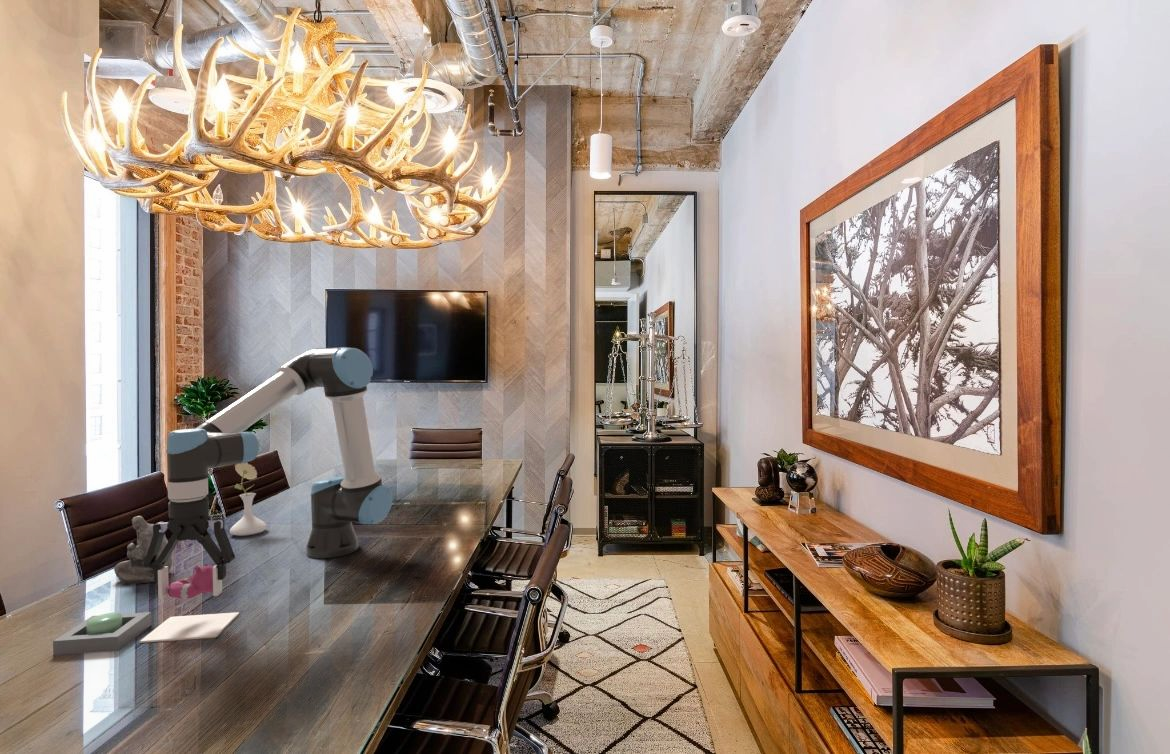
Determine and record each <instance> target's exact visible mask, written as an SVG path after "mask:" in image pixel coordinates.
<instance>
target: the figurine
mask: <svg viewBox="0 0 1170 754" xmlns="http://www.w3.org/2000/svg"><path fill="white" fill-rule="evenodd" d="M131 524H132V528H133V529H134V530H135V531H136V537H137V538H136V544H135V543H133V542H131V543H129V544H128V545H127V547H126V548H127V552H126V555H127V556H126V557H127V558H128V559H129V560H124V561H120V562H118V563H117V564H115V566H114V568H113V570H114V574H115V575H116V577H117V578H118V580H119V581H120V582H121V584H122V585H123V586H124V585H125V586H126V585H127V586H128V585H140V584H147V583H153V582H154V570H153V569H152V568H149V567H147V568H145V567H144V566H143V564H144V561H145V558H146V555H147V552H148V549H149V546H150V543H151V540H152V537H153V525H155V524H156V523H155V524H154V523H148V522H147V521H146V520H145V519H144V517H143V516H142V515H137V516H134V517H133V518H132V519H131ZM168 540H169V539H167V537H166V533H165V534H164V537H163V540H162V543H161V546H160V549H159V552H158V556H157V559H158V557H159V556H160V554H161V552H162V551H163V549H164V548H165V546H166V545H167V543H168ZM172 554H173V553H171V555H170V556H169V558H168V559H167V561H166V562H165V565H164V566H168V573H169V572H170V571H171V569H172V566H173V559H172ZM157 559H156V560H157ZM164 566H163V567H164Z"/></svg>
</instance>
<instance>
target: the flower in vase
mask: <svg viewBox="0 0 1170 754" xmlns="http://www.w3.org/2000/svg"><path fill="white" fill-rule="evenodd" d="M234 468H235V471H236V472H237V474H238V475H239V476H241V482H240V484H239V483H236V484H235V485H234V489H237V490H240V491H242V490H243V492H244V493H241V494H239V497H240V498H241V500H242V501H243V505H244V506H243V509H244V511H243V513H244V514H243V516H242V517H241V518H240V519H239V520H238V521H237V522H236V523H234V524H233V525H232V527H230V529H229V533H230V535H232V536H240V537H241V536H250V535H257V534H260V533H262V532H264V531H266V530H267V528H268V525H267V523H266V522H264V521H263V520H262V519H260V518H258V517H256V516H255V515H254V514H253V510H252V509H253V502H254V498H255V497H256V495H257V493H255V492H247V491H248V490H249V489H251V488H252V487H254V486H255V484H253V485H251V486H249V487H248V488H246V489H245V488H244V485H243V481H244V479H247V480H250V481H251V480H255V479H257V478H258V477H257V476H258V472H257V469H256V467H255V466H253V465H252V464H249V463H248V462H245V463H242V464H240V463H239V464H234Z"/></svg>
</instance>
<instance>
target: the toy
mask: <svg viewBox="0 0 1170 754" xmlns="http://www.w3.org/2000/svg"><path fill="white" fill-rule="evenodd" d="M214 566H215V565H208V564H205V565H203V566H202V567H199V566H195V568H194V570H195V572H194V573H193V575H192V577H184V578H182V579H179V580H176V581H174V582H172V583H170V584H169V589H168V595H167V596H169V597H171V598H175V599H181V600H183V599H184V600H185V599H186V600H188V599H189V600H190V599H192V598H195V597H197V596H198V595H201V594H209V593H213V567H214Z"/></svg>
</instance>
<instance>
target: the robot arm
mask: <svg viewBox="0 0 1170 754" xmlns="http://www.w3.org/2000/svg"><path fill="white" fill-rule="evenodd" d="M373 375H374V369H373V364H372V362H371V359H370V357H369V356H368V355H367V354H366V353H365V352H364V351H362V350H361V349H359V348H356V347H347V346H341V347H316V348H313V349H309V350H307V351H305V352H303V353H301V354H299V355H297V356H295V357H294V358H292V359H291V360H289V361H287V362H285V363H284V364H283V365H281V366H280V367H279V368H277V370H276V373H275V375H273V376H272V377H269V378H268V379H266V380H265V381H264V382H263V383H261V384H259V385H258V386H256V387H255V388H253V389H252V390H251V391H249V392H248V393H246V394H245V395H243V396H241V397H240V398H238V399H237V400H236V401H234V402H232V403H231V404H230V405H228V406H226V407H225V408H224V409H222V410H221V411H219V412H217V413H216V414H215V415H213V416H211V417H210V418H209V419H207V420H206V421H204V422H203V423H201V424H200V425H198V426H196V427H195V428H188V429H187V428H186V429H185V428H183V429H176V430H172V431H170V432H169V433H168V434H167V440H166V452H165V453H166V460H167V461H166V463H167V465H166V466H167V498H168V500H169V502H168V504H167V505H168V507H167V508H168V510H167V511H168V519H169V520H168V521H167V522H164V521H159V522H156V523H155V525H153V537H152V540H151V543H150V546H149V549H148V552H147V555H146V558H145V561H144V564H143V566H144V567H145V568H147V567H149V568H152V569H153V570H154V584H157V586H158V589H157V592H158V595H157V596H158V600H163V599H164V598H166V597H168V596H169V595H168V589H169V586H170V584H169V572H168V566H164V565H165V562H166V561H167V559H168V558H169V556H170V555H171V554H173V551H174V550H175V548H176V547H177V545H178V544H179V543H180V542H183V541H187V540H189V541H197V543H199V544H201V546H202V547H203V549H204V550H205V552H206V553H207V554H208V555H209V558H211V560H212V561H213V562H214V563H215V565H213V566H214V567H213V591H212V597H218V596H219V595H220V594H221V593H222V592H223V580H224V579H225V578H226V576H227V564H230V563H231V562H232V561H234V560H235V559H236V555H235V551H234V549H233V548H232V545H231V541H230V540H229V537H228V534H227V532H226V529H225V519H224V518H220V519H218V520H217V519H216V520H211V519H210V515H209V513H210V511H209V510H210V509H209V508H210V507H209V506H210V504H209V503H210V502H209V497H208V496H207V495H209V469H214V468H218V467H219V468H220V467H225V466H232V465H237V464H239V463H240V464H242V463H246V462H247V463H248V462H252V461H254V460H255V459H256V458H257V457H258V454H259V450H260V447H259V446H260V443H259V440H258V438H257V436H256V435H255V434H254V433H252V432H250V431H246V430H248V428H250V427H251V426H252V425H254V424H255V423H256V422H258V421H260V420H261V419H263V418H264V417H265V416H267V415H269V413H271V412H272V411H274V410H275V409H276V408H278V407H280V405H282V404H283V403H285V402H286V401H288V400H289V399H290V398H292V397H293V396H299V395H302V394H304V392H305V393H306V391H308V390H312V389H314V388H323V392H324V397H325V398H326V399H328V400H329V401H331V403H332V404H331V405H332V410H333V411H332V412H333V416H334V422H335V428H336V434H337V437H338V438H337V439H338V445H339V451H340V455H341V457H340V458H341V462H342V463H341V464H342V468H343V474H344V475H343V476H333V477H328V478H322V479H319V480H315V481H314V482H313V483H312V484H311V491H310V492H311V493H310V503H311V504H310V507H311V532H310V534H309V538H308V541H307V543H306V548H305V549H306V551H305V552H306V553H305V554H306V556H307V557H310V558H313V559H331V558H333V559H334V558H338V557H342V556H343V557H344V556H346V555H350V554H352V553H354V552H356V551H357V550H358V549H359V540H358V536H357V534H356V531H355V528H354V527H353V523H358V524H362V525H376V524H379V523H380V522H382V521H383V520H384V519H385V518H386V517H387V516H388V514H389V513H390V510H391V508H392V506H393V492H392V490H391V488H389V487H388V486H386V485H383V481H382V476H381V474H380V473H378V472H376V471H375V470H376V469H375V465H374V458H373V452H372V445H371V440H370V434H369V426H368V422H367V421H368V420H367V416H366V415H367V413H366V408H365V403H364V402H365V401H364V396H365V394H366V393H367V391H368V387H367V386H368V385H369V384H370V382H371V381H372V377H373ZM209 527H211V530H212V531H213V534H214V536H215V539H216V542H217V544H218V545H217V544H216V542H215V541H214V540H213V538H212V537H211V533H210V531H208V528H209ZM167 530H169V531H170V532H171V533H172V534H171V536H169V537H170V538H169V539H167V540H168V543H167V545H166V546H165V548H164V549H163V551H162V552H161V554H160V556H159V557H158V559H157V556H158V552H159V549H160V546H161V543H162V540H163V537H164V534H165V535H166V532H167ZM171 556H172V555H171ZM156 559H157V560H156ZM163 566H164V567H163Z"/></svg>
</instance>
